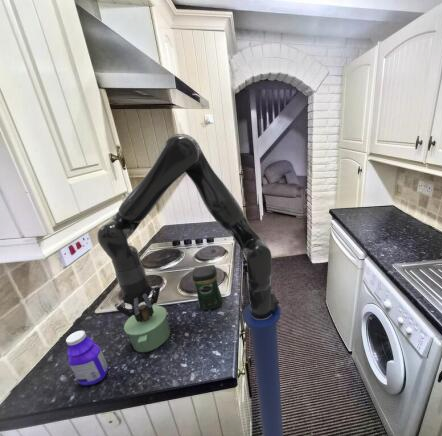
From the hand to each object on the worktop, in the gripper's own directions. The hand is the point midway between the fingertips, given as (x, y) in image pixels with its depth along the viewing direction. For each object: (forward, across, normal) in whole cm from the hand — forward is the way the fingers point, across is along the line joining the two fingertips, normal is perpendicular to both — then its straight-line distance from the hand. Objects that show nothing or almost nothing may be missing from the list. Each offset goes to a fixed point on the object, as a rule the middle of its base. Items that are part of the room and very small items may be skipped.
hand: (145, 317), depth 81 cm
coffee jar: (+10, +23, -2) cm, 25 cm away
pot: (+10, 0, 0) cm, 10 cm away
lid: (+1, 0, 0) cm, 1 cm away
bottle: (+10, -17, -2) cm, 20 cm away
